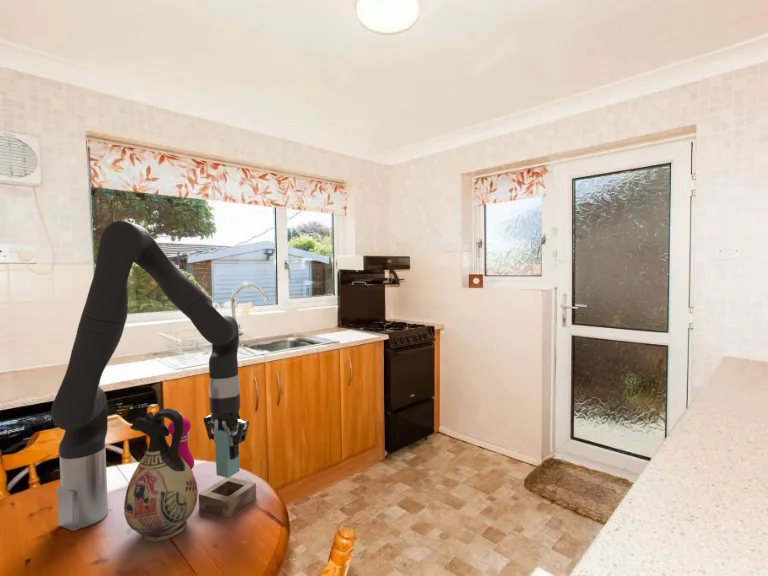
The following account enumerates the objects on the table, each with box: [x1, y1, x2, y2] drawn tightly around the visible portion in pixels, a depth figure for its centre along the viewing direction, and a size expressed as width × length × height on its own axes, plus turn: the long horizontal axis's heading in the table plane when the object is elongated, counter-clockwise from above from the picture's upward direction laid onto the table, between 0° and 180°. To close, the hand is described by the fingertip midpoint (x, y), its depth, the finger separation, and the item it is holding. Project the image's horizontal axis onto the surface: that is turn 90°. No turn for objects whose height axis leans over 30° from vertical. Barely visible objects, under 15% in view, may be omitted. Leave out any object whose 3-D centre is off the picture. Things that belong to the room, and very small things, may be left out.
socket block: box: [198, 476, 257, 519], centre depth 110 cm, size 10×10×4 cm
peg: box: [214, 429, 240, 478], centre depth 110 cm, size 4×4×12 cm
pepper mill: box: [167, 412, 195, 474], centre depth 123 cm, size 7×7×20 cm
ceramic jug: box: [123, 408, 199, 543], centre depth 98 cm, size 17×15×30 cm
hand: (227, 456), depth 110 cm, fingers closed on peg, 4 cm apart
